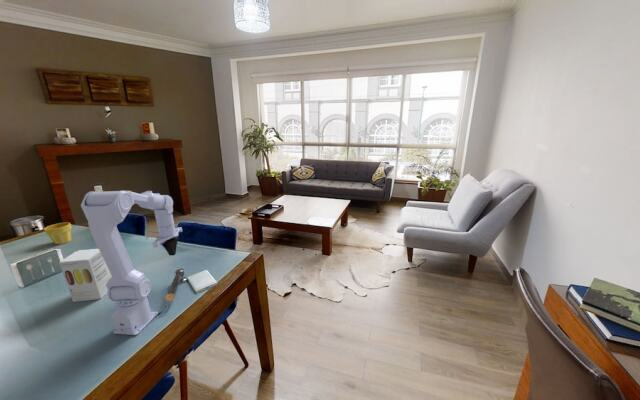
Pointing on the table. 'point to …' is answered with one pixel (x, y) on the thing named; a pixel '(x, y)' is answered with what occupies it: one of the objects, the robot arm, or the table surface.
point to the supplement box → (86, 274)
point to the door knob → (183, 280)
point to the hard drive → (201, 281)
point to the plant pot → (59, 232)
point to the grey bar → (174, 285)
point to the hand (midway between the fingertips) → (172, 254)
